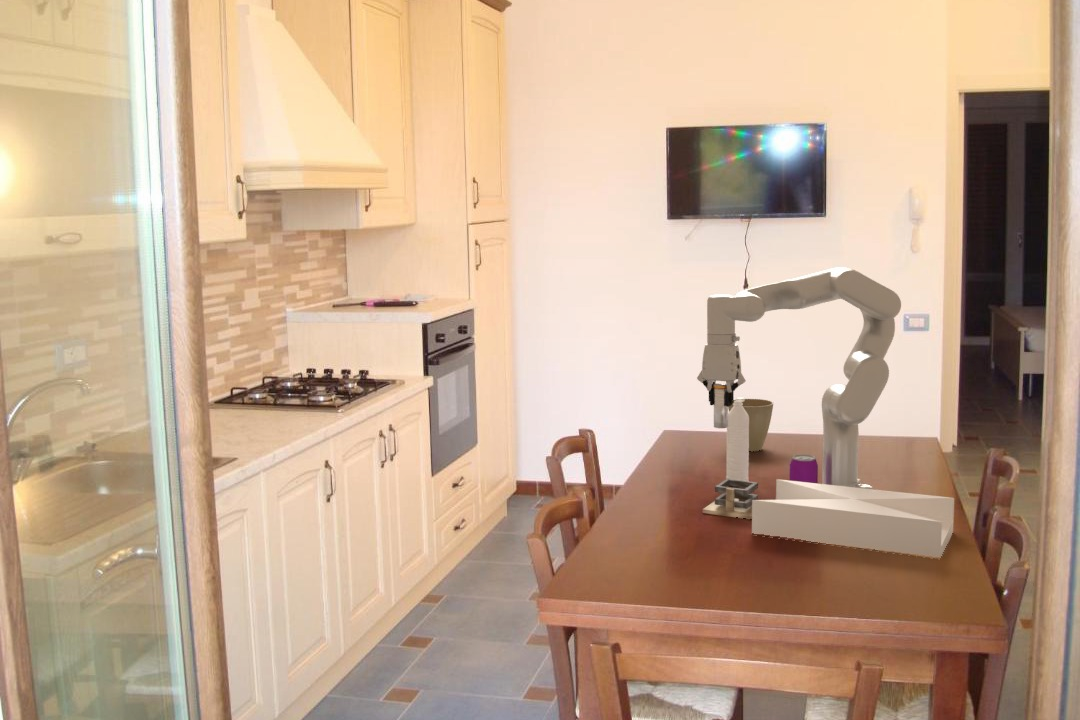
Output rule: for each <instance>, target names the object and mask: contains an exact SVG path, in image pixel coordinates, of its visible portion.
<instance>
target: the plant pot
mask: <svg viewBox="0 0 1080 720" xmlns="http://www.w3.org/2000/svg"><path fill="white" fill-rule="evenodd" d="M734 401H736V399H734ZM734 401H733V403H732V405H731V406H729V407H728V413H729V412H730V410H731V409H732V408H733V406H734ZM742 404H743V405H742V406H743V408H744V409H745V411H746V412H747V414H748V416H749V449H748V450H749V451H751V453H752V452H753V451H754V452H760V451H762V449H763V446H764V443H765V442H766V438H767V436H768V432H769V429H770V425H771V419H772V415H773V409H774V402H773V401H772V400H768V399H762V398H745V401H744V402H742ZM759 450H760V451H759Z"/></svg>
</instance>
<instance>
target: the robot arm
mask: <svg viewBox="0 0 1080 720" xmlns="http://www.w3.org/2000/svg"><path fill="white" fill-rule="evenodd" d="M836 300H843V301H845V302H847V303H849V304H850V305H852V306H853V307H855V308H857V309H859V311H860V312H861V315H862V318H863V326H862V330H861V331H860V334H859V335H858V338H857V340H856V342H855V343H854V345H853V347H852V349H851V351H850V353H849V354H848V356H847V358H846V359H845V362H844V365H843V374H844V376H845V377H846V378H847V380H848V381H847V384H843V383H835V384H832V385H831V386H829V387H828V388H827V389H826V390H825V391H824V393H823V395H822V398H821V413H822V425H823V426H822V427H823V432H822V434H823V438H822V439H823V440H822V482H821V484H827V485H836V486H846V487H855V488H865V489H874V487H873V486H871V485H870V484H862V483H861V478H858V471H859V469H858V465H859V463H858V462H859V440H860V439H859V435H860V433H859V424H862V423H863V422H864V421H865V420H866V419H867V418H868V417H869V415H870V414H871V413H872V411H873V409H874V407H875V406H876V404H877V401H878V400H879V399H880V398H881V395H882V393H883V391H884V389H885V387H886V386H887V384H888V380H889V377H890V369H889V365H888V363H887V362H886V360H885V359H884V358H885V357H886V355H887V353H888V350H890V349H889V348H890V346H891V345H892V342H893V340H894V336H895V331H896V322H895V318H896V317H897V316H898V315H899V313H900V311H901V309H902V301H901V298H900V296H899V294H897V292H895V291H894V290H892V289H890V288H889V287H886V286H885V285H883V284H882V283H879V282H877V281H875V280H874V279H872V278H870V277H868V276H867V275H864V274H863V273H862V272H860V271H857V270H855V269H852V268H847V267H842V266H841V267H835V268H834V267H833V268H830V269H827V270H826V269H825V270H823V271H819V272H815V273H811V274H808V275H803V276H800V277H796V278H791V279H785V280H783V281H780V282H774V283H768V284H764V285H760V286H756V287H751V288H749V289H748V288H747V289H745V290H741V291H739V292H737V293H736V294H734V295H732V294H723V293H722V294H721V293H720V294H712V295H709V296H708V297H707V301H706V318H707V319H706V320H707V321H706V326H707V327H706V329H707V330H706V333H707V334H706V339H707V340H706V341H707V343H706V344H705V345H704V347H703V348H704V349H703V354H702V360H701V361H702V363H701V365H702V366H701V371H700V372H699V374H698V376H697V377H696V380H697V381H699V382H700V383H701V384H702V385H703V386H704V387H705V388H706V390H707V391H708V402H709V405H710V406H714V388H713V384H715V383H717V382H725V383H726V385H727V392H726V407H729V406H731V405H732V403H733V401H734V400H735V399H734V395H735V394H734V393H735V391H736V389H737V388H738V387H740V386H741V385H742V384H744V383H746V378H745V377H744V375H743V373H742V362H741V355H740V348H739V344H737V343H736V342H740V340H741V337H740V336H737V335H736V321H739V322H747V323H748V322H749V323H753V322H757V321H759V320H760V319H762V318H763V316H764V315H765V313H766V312H771V311H777V310H801V309H805V308H806V309H807V308H810V307H814V306H817V305H820V304H825V303H829V302H832V301H836ZM736 380H737V381H736Z"/></svg>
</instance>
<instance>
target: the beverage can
mask: <svg viewBox="0 0 1080 720" xmlns="http://www.w3.org/2000/svg"><path fill="white" fill-rule="evenodd" d="M818 475H819V464H818V461H817V459H816V457H815V456H814V455H810V454H795V455H792V458H791V460H790V463H789V476H788V477H789V481H798V482H808V483H817V484H819V482H818V477H819V476H818Z"/></svg>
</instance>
